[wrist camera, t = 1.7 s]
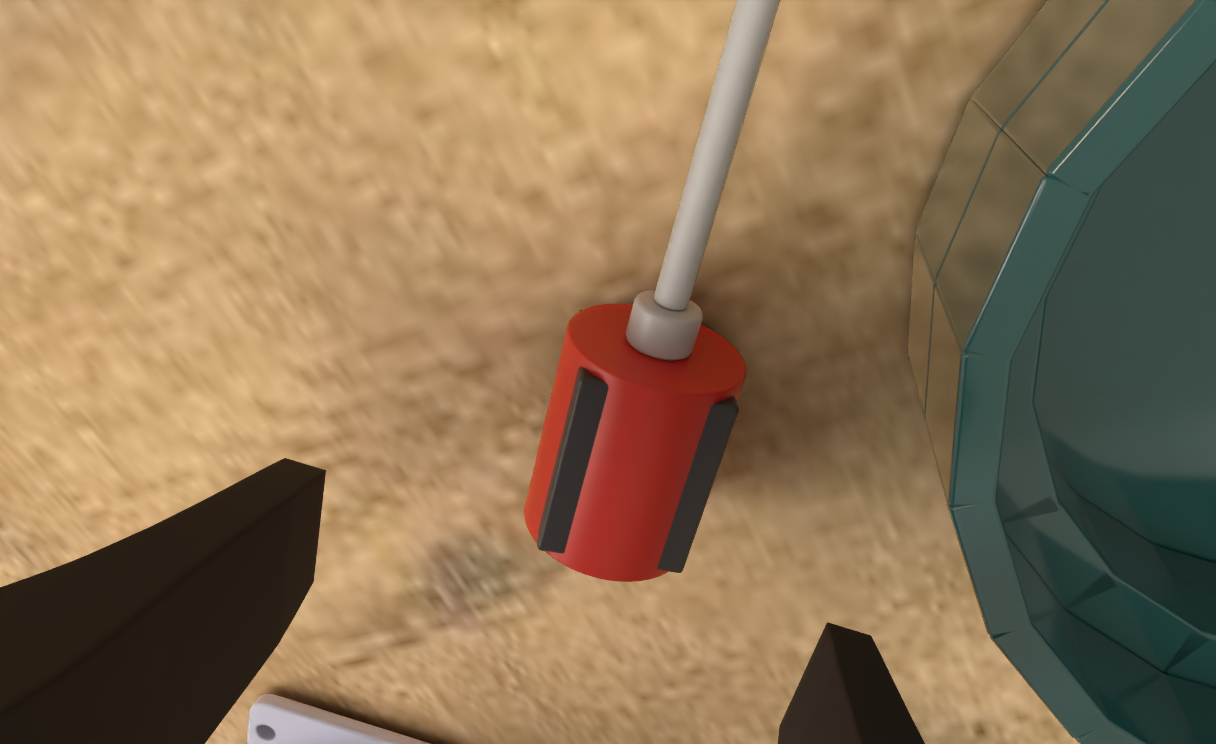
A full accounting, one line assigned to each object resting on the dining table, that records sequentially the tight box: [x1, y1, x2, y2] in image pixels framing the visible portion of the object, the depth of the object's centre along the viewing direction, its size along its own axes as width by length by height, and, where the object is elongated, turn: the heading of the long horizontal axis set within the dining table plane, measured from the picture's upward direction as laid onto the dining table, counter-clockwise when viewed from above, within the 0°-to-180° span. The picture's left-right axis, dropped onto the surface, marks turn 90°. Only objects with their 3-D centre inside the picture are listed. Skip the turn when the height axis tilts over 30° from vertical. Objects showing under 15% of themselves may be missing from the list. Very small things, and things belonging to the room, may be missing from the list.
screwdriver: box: [524, 0, 780, 582], centre depth 16 cm, size 11×3×3 cm, turn 167°
